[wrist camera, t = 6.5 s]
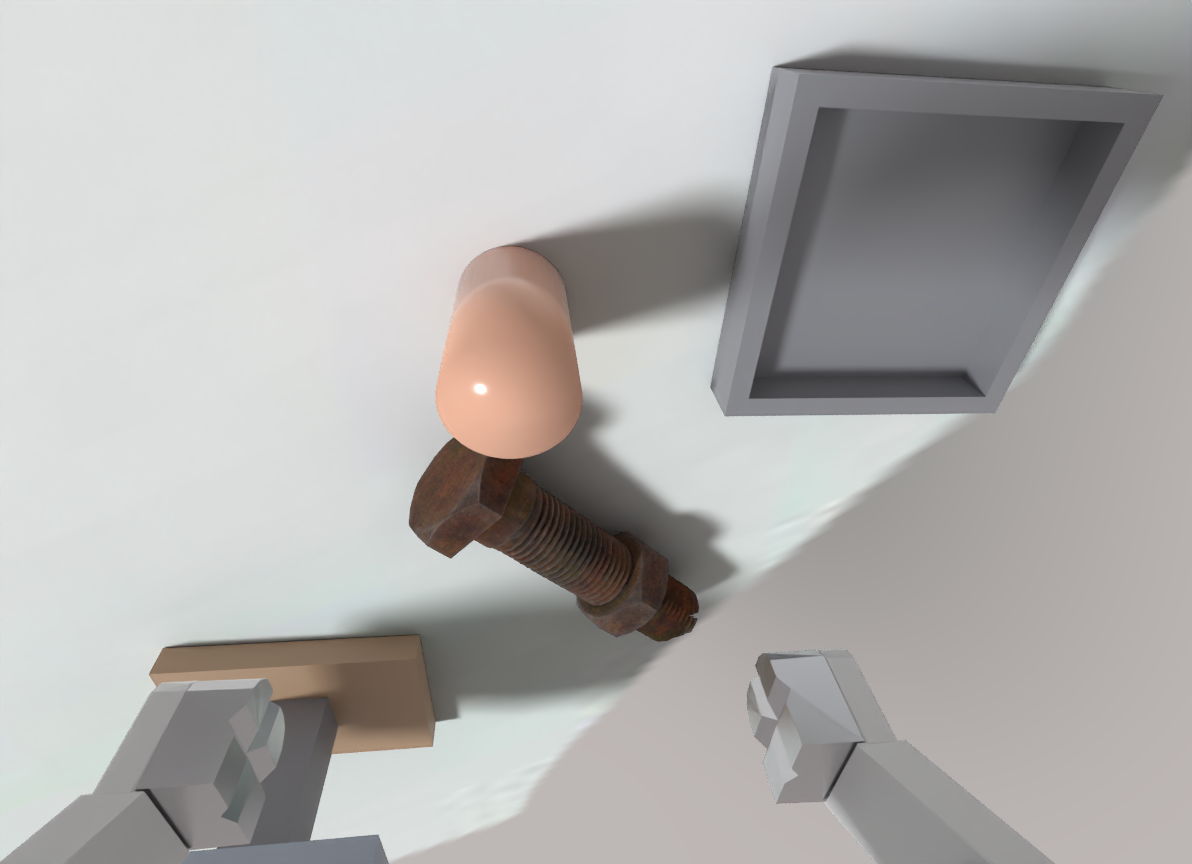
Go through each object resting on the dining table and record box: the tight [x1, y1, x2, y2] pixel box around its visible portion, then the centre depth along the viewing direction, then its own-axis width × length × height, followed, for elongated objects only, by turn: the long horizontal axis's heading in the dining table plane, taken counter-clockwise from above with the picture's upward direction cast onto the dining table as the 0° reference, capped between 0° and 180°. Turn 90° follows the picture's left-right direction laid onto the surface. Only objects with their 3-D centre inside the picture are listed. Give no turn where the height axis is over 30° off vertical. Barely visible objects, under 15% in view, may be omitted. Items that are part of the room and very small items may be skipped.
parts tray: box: [711, 67, 1163, 416], centre depth 22 cm, size 12×12×2 cm
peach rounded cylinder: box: [436, 246, 582, 459], centre depth 19 cm, size 4×4×7 cm
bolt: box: [409, 438, 699, 642], centre depth 28 cm, size 6×5×15 cm
